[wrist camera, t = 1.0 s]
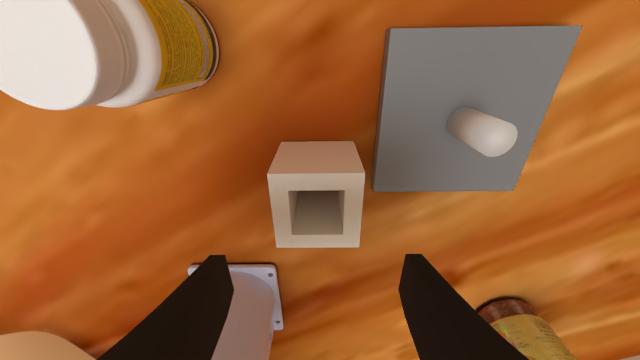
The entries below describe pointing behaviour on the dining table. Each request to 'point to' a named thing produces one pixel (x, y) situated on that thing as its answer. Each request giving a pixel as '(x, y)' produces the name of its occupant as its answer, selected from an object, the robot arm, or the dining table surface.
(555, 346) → the sauce bottle
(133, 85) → the supplement bottle
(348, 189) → the box
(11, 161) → the dining table surface
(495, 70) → the base plate
